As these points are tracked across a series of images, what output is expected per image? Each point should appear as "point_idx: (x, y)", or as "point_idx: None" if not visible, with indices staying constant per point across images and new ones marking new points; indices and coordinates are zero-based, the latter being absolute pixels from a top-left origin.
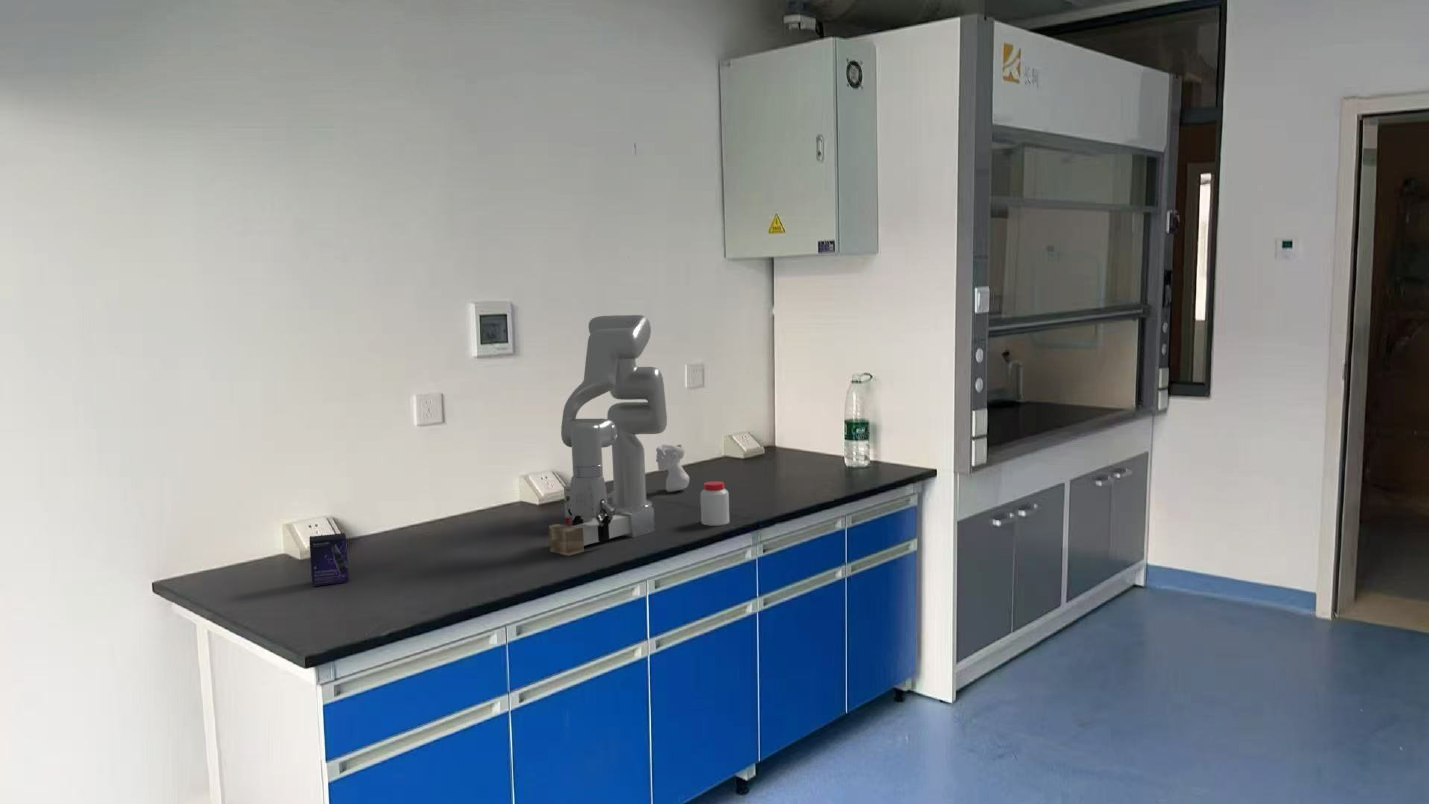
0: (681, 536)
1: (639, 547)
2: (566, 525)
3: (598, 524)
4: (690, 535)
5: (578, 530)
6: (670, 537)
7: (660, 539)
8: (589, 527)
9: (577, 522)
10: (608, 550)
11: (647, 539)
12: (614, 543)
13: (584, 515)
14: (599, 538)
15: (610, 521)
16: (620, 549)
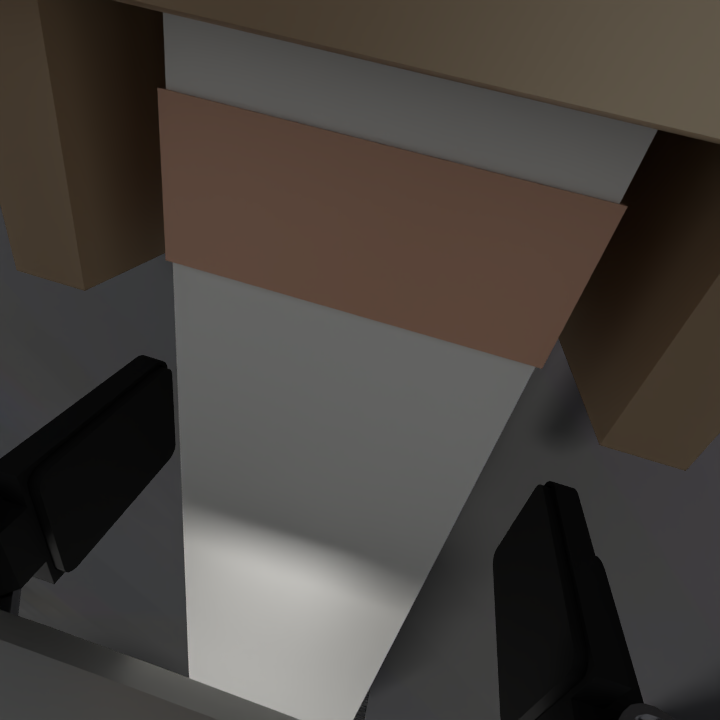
0: (64, 608)
1: (23, 425)
2: (601, 425)
3: (190, 588)
4: (52, 619)
5: (15, 117)
6: (85, 595)
7: (89, 567)
8: (189, 476)
9: (544, 663)
10: (108, 303)
11: (139, 564)
12: None
13: (83, 704)
14: (126, 367)
15: (192, 674)
16: (66, 355)
